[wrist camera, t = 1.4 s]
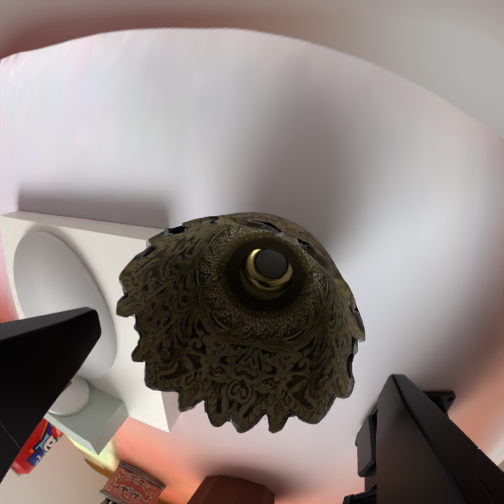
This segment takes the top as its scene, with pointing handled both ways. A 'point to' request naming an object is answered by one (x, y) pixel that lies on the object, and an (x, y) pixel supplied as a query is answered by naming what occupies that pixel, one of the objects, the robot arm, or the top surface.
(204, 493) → the muffin
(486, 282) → the top surface
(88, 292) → the scale
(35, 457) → the soda can
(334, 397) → the ornate brown lamp shade
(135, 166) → the top surface
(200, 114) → the top surface
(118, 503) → the lighter
